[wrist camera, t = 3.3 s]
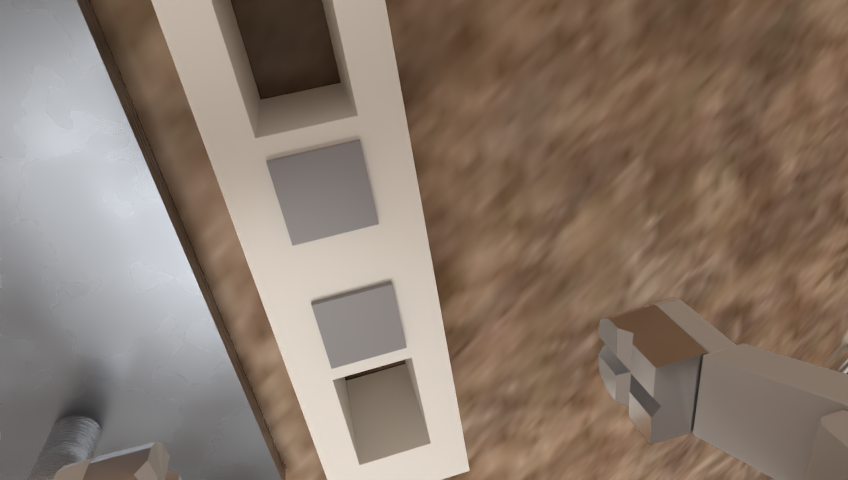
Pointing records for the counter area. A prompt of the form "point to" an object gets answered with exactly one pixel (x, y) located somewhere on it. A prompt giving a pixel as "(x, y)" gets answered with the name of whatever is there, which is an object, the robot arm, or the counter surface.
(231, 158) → the power strip
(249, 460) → the mounting plate
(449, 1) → the counter surface
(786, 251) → the counter surface
